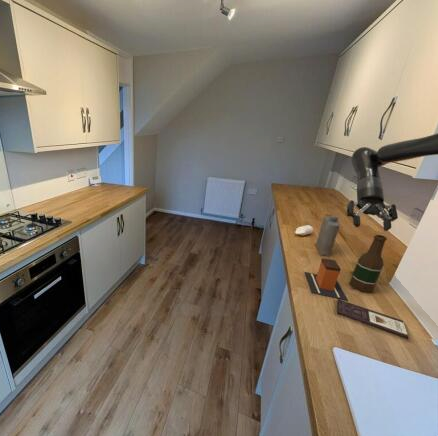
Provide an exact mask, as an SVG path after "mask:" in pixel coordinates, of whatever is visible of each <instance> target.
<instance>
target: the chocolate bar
mask: <svg viewBox="0 0 438 436" xmlns="http://www.w3.org/2000/svg"><path fill="white" fill-rule="evenodd" d="M336 302H337V303H336V304H337V305H336V309H337V310H336V313H337V315H339V316H342V317H345V318H348V319H350V320H353V321H356V322H358V323H361V324H364V325H367V326H370V327H372V328H374V329H378V330H381V331H383V332H386V333H389V334H391V335H395V336H397V337H400V338H403V339H405V340H408V339H409V335H408V332H407V329H406V326H405V323H404V321H403V320H402V319H399V318H397V317H393V316H391V315H387V314H384V313H381V312H378V311H376V310H372V309H369V308H366V307H364V306H360V305H357V304H354V303H351V302H348V301H346V300H341V299H337V301H336Z"/></svg>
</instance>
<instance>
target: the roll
mask: <svg viewBox="0 0 438 436" xmlns="http://www.w3.org/2000/svg"><path fill="white" fill-rule="evenodd" d="M295 229H296V230H295V231H294V232H295V234H297V235H298V236H301V237H302V236H306V235H309V234H312V233H313V232H314V227H313V226H311V225H309V224H306V225H302V226H299V227H296V228H295Z"/></svg>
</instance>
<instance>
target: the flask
mask: <svg viewBox="0 0 438 436" xmlns="http://www.w3.org/2000/svg"><path fill="white" fill-rule="evenodd" d="M338 220H339V217H338V216H336V215H329V216H323V220H322V222H321V226H320V229H319V232H318V236H317V240H316V243H315V246H316V247H317V249H318V253H319V255H321V256H324V257H329V256H331V254H332V250H333V248H334V245H335V242H336V238H337V235H338V232H339V230H340V227H341V224H340V222H339V221H338Z"/></svg>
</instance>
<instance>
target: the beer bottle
mask: <svg viewBox="0 0 438 436" xmlns="http://www.w3.org/2000/svg"><path fill="white" fill-rule="evenodd" d="M387 239H388V238H387V237H386V236H385V235H381V234H375V235H374V236H373V240H372V243H371V244H370V247H369V248H368V251H367V252H364V253H365V254H364V255H362V254H361V255H362V256H361V255H360V257H359V258H358V260H357V262H356V264H355V267H354V270H353V272H352V274H351V275H352V276H351V278H350V280H349V286H351V288H352V289H353V290H356V291H358V292H360V293H365V294H370V293H372V292H373V291H374V289H375V287H376V285H377V282H378V279H379V277H380V275H381V273H382V270H383V267H384V260H383V258H382V252H383V249H384V246H385V242H386V241H387Z"/></svg>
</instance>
